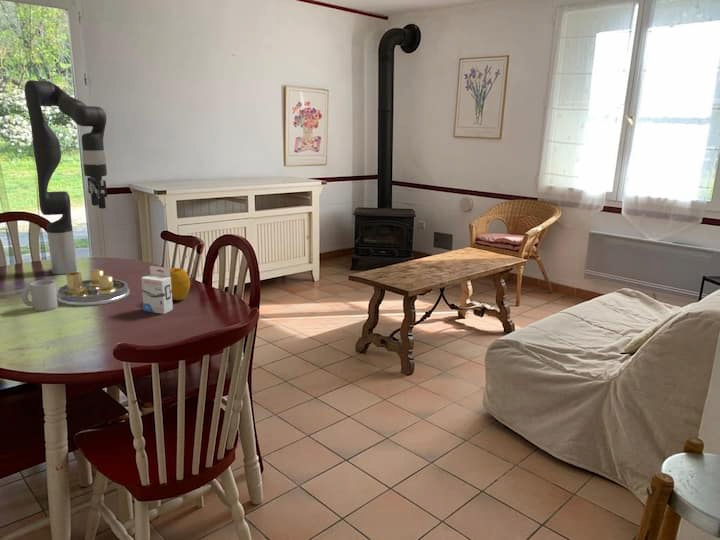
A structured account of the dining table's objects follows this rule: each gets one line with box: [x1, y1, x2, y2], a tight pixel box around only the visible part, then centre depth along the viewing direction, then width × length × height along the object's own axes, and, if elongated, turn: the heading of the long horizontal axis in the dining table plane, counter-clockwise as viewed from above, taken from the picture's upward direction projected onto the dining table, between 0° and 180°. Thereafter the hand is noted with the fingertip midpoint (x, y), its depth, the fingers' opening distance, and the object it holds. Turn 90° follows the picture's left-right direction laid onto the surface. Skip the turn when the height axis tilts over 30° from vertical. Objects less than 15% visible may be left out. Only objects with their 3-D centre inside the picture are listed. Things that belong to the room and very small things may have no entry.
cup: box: [21, 279, 59, 312], centre depth 182 cm, size 7×10×9 cm
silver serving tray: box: [57, 269, 131, 307], centre depth 197 cm, size 24×24×8 cm
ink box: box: [140, 265, 174, 315], centre depth 183 cm, size 8×5×15 cm, turn 73°
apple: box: [169, 267, 191, 301], centre depth 196 cm, size 10×10×12 cm
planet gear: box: [64, 271, 87, 296], centre depth 193 cm, size 7×7×8 cm
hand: (98, 206), depth 205 cm, fingers open, 8 cm apart
